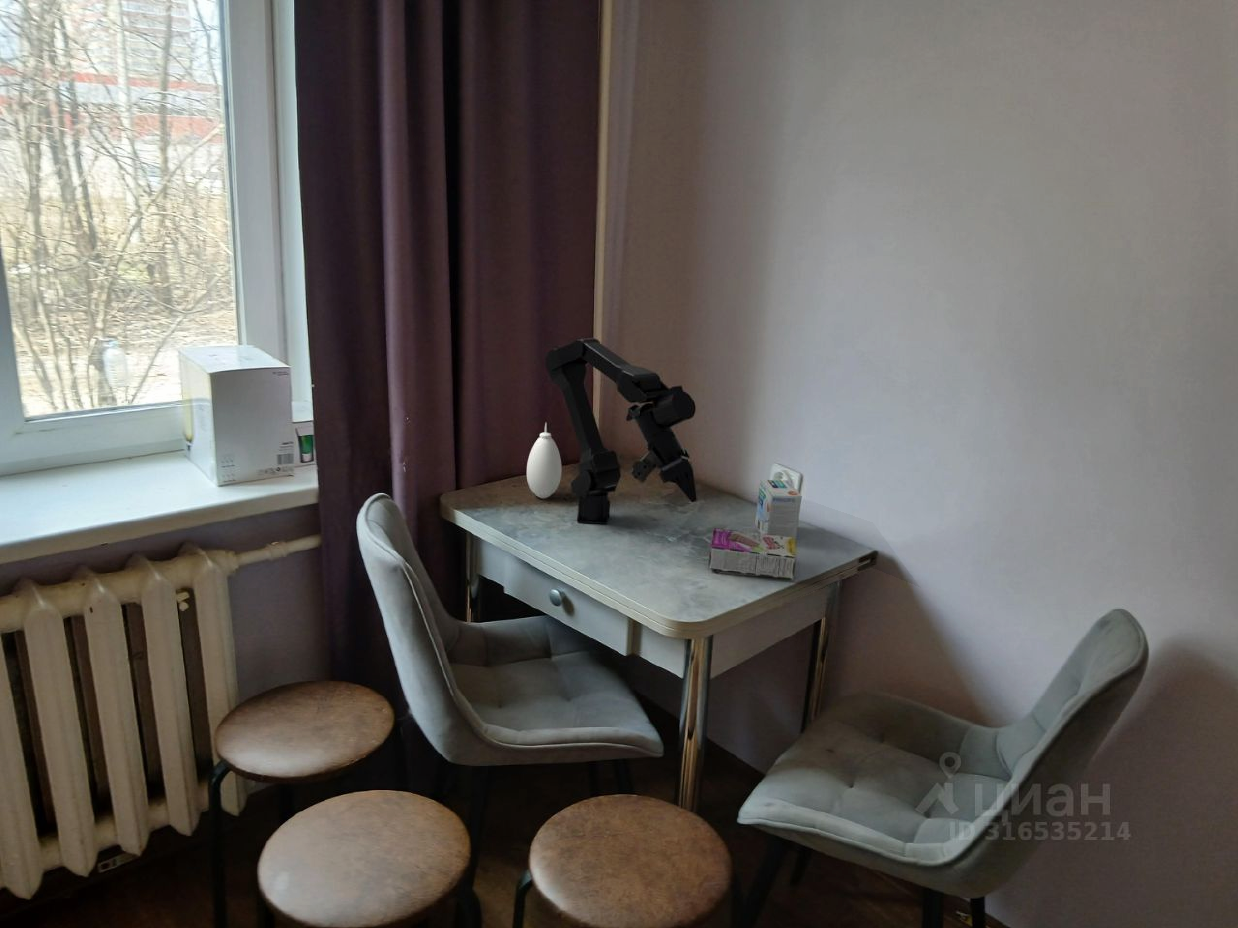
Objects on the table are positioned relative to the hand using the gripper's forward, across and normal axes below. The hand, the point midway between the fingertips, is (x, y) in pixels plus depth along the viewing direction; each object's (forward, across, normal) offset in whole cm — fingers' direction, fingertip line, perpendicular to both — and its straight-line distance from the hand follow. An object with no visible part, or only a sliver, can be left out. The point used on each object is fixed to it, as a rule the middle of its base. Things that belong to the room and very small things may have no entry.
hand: (694, 501), depth 173 cm
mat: (+15, 0, +3) cm, 15 cm away
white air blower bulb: (-12, -27, -32) cm, 44 cm away
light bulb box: (+18, -16, +11) cm, 26 cm away
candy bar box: (+9, +3, -2) cm, 10 cm away
